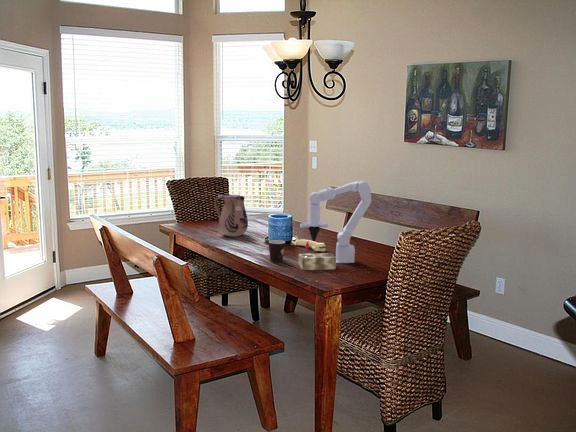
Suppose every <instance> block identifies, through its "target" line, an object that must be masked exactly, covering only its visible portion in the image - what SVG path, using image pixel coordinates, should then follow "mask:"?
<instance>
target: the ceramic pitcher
mask: <svg viewBox="0 0 576 432" xmlns="http://www.w3.org/2000/svg"><path fill="white" fill-rule="evenodd" d="M245 198H246V197H245V196H243V195H240V194H224V195H222V194H220V195H218V196H216V197H215V198H214V199H213V200H214V208H215V211H216V213H217V215H218V222H219V229H220V230H221V232H222V234H224V235H225V236H227V237H231V238H232V237H233V238H235V237H240V236H242V235H244V234H245V233H246V232H247V230H248V228H249V227H248V226H249V220H248V215H247V211H246V208H245V207H246V206H245ZM218 199H222V200H223V202H224V205H223V207H222V210H220V208H219V206H218Z"/></svg>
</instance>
